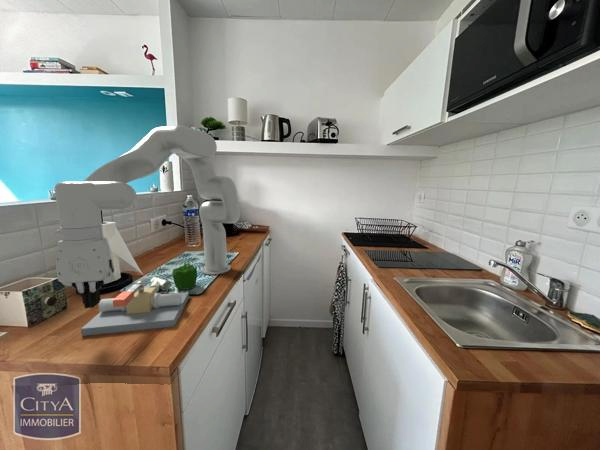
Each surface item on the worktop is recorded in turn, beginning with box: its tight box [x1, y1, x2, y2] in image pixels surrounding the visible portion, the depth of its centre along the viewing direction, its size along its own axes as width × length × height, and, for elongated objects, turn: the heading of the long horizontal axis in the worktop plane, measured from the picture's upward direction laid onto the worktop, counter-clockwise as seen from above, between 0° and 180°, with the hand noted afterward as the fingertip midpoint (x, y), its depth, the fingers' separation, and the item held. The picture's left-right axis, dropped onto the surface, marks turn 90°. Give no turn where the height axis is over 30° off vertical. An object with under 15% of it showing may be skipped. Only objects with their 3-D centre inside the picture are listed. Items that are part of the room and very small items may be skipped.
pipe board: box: [80, 287, 190, 337], centre depth 74 cm, size 18×22×7 cm
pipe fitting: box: [148, 276, 172, 293], centre depth 92 cm, size 8×4×7 cm
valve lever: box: [113, 278, 148, 307], centre depth 68 cm, size 14×3×3 cm, turn 12°
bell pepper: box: [172, 262, 198, 291], centre depth 93 cm, size 8×8×10 cm
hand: (92, 305), depth 62 cm, fingers closed
